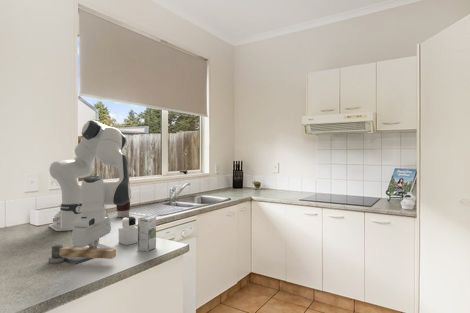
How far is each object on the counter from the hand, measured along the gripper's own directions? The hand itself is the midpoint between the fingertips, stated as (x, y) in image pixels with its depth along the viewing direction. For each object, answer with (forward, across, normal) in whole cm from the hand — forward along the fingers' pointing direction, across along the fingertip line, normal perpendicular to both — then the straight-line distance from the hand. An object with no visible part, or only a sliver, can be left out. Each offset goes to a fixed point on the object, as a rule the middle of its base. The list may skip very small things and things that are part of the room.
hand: (93, 250), depth 119 cm
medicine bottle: (+4, -24, +3) cm, 24 cm away
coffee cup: (+5, -75, -28) cm, 81 cm away
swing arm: (+2, +3, -3) cm, 4 cm away
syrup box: (+4, -15, +16) cm, 22 cm away
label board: (+4, -4, -9) cm, 11 cm away
